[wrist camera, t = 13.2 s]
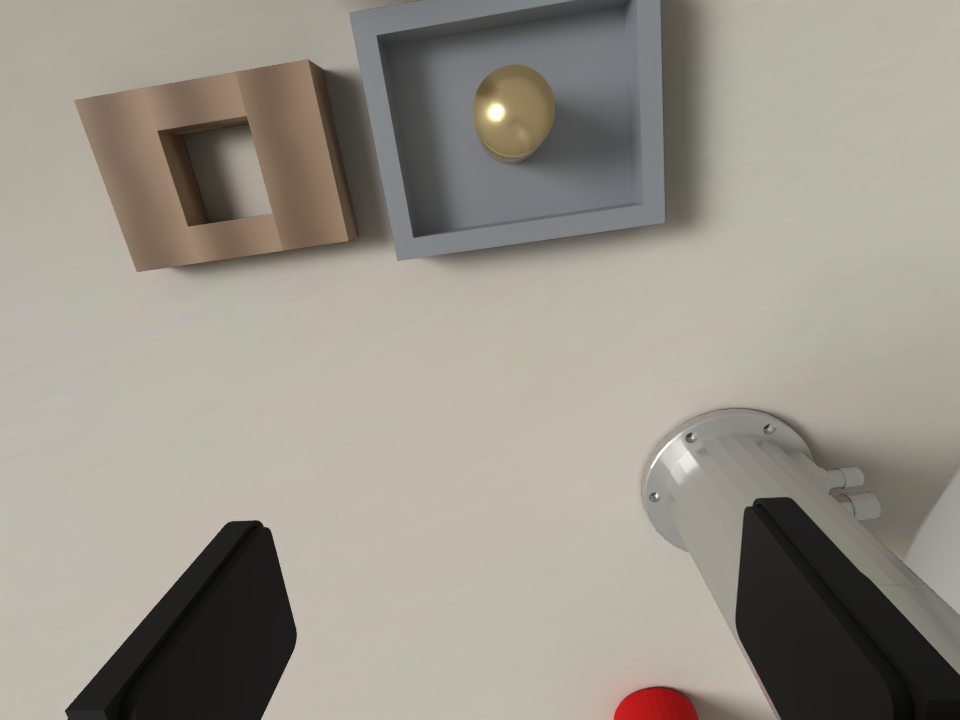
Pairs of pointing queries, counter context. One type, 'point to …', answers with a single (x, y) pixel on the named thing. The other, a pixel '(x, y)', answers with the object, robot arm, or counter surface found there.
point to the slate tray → (564, 152)
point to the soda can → (655, 706)
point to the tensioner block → (170, 178)
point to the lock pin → (513, 113)
